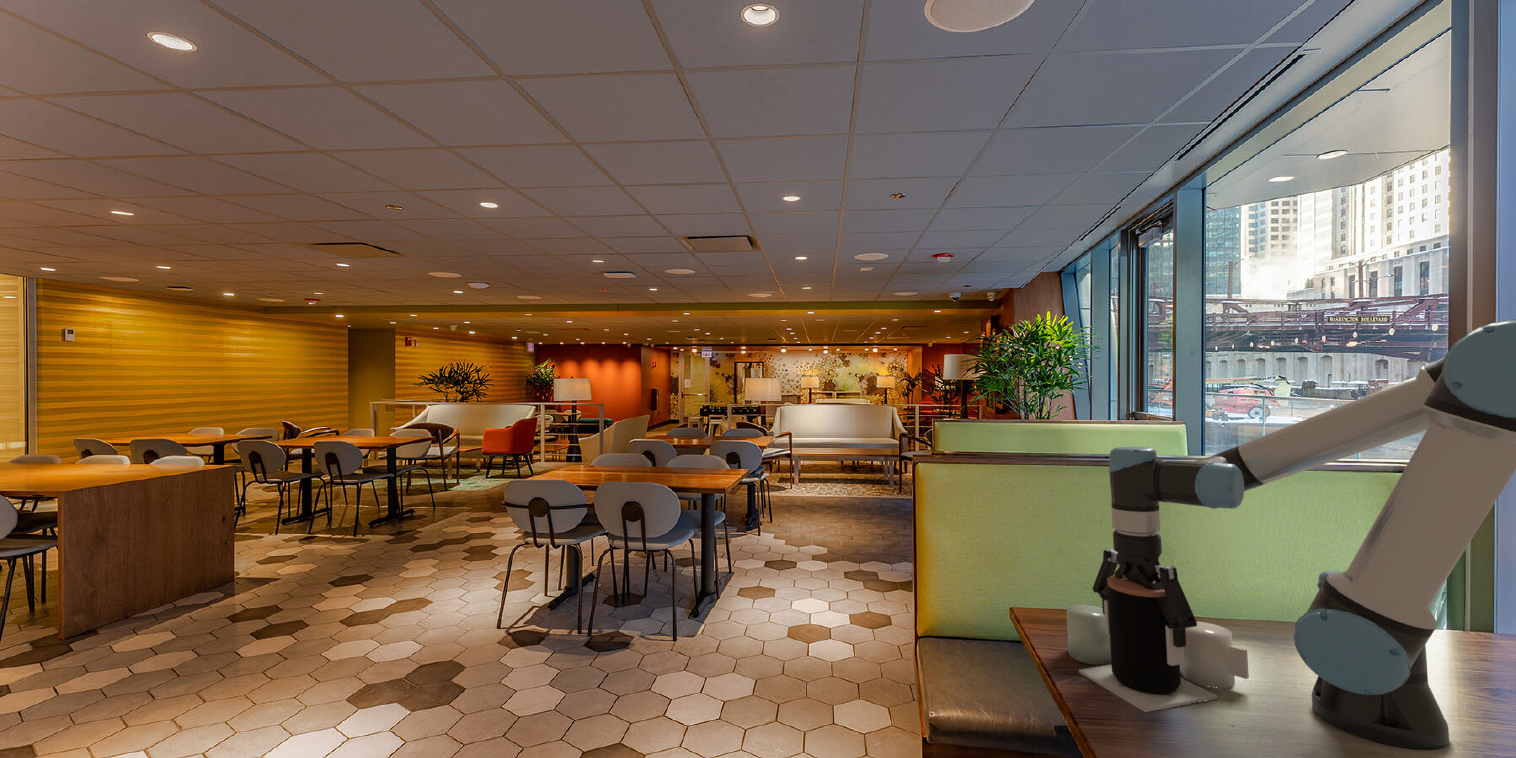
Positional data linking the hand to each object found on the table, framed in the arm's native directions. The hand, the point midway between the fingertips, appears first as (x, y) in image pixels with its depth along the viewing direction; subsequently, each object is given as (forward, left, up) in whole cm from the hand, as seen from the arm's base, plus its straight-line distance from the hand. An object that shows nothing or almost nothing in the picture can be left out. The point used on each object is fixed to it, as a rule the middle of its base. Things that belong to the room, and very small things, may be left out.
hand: (1142, 648), depth 110 cm
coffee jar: (0, 0, -6) cm, 6 cm away
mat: (0, 0, -7) cm, 7 cm away
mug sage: (+12, -1, -7) cm, 14 cm away
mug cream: (-2, -13, -7) cm, 15 cm away
